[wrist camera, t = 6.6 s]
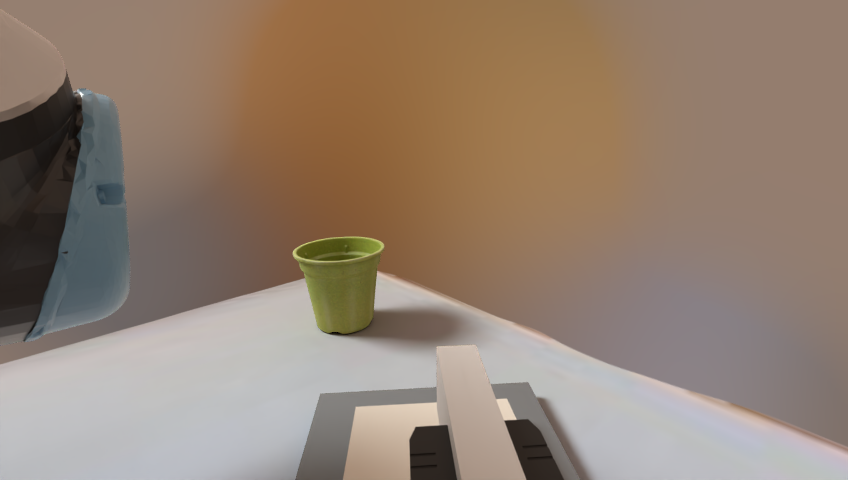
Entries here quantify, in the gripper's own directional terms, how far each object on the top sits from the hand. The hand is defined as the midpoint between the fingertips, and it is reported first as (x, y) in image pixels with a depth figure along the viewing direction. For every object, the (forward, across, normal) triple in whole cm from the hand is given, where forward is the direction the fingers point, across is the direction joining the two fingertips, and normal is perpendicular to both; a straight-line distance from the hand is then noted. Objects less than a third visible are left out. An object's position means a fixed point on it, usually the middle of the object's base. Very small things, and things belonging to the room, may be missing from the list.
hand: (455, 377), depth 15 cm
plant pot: (+27, -8, -11) cm, 31 cm away
